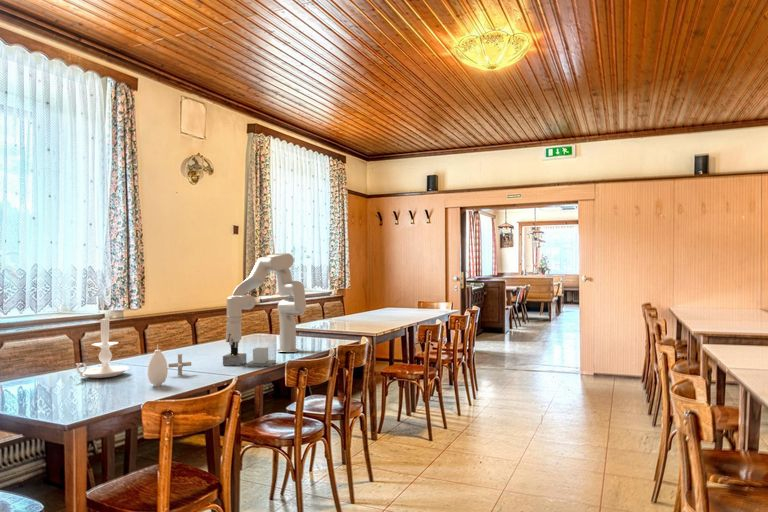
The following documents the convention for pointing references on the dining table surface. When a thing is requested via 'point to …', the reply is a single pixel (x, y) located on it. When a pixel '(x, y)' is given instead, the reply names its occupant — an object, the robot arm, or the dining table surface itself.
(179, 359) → the pipe connector
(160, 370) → the egg shaped candle
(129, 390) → the dining table surface
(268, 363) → the press bed
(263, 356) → the block
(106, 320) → the candlestick
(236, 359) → the block
